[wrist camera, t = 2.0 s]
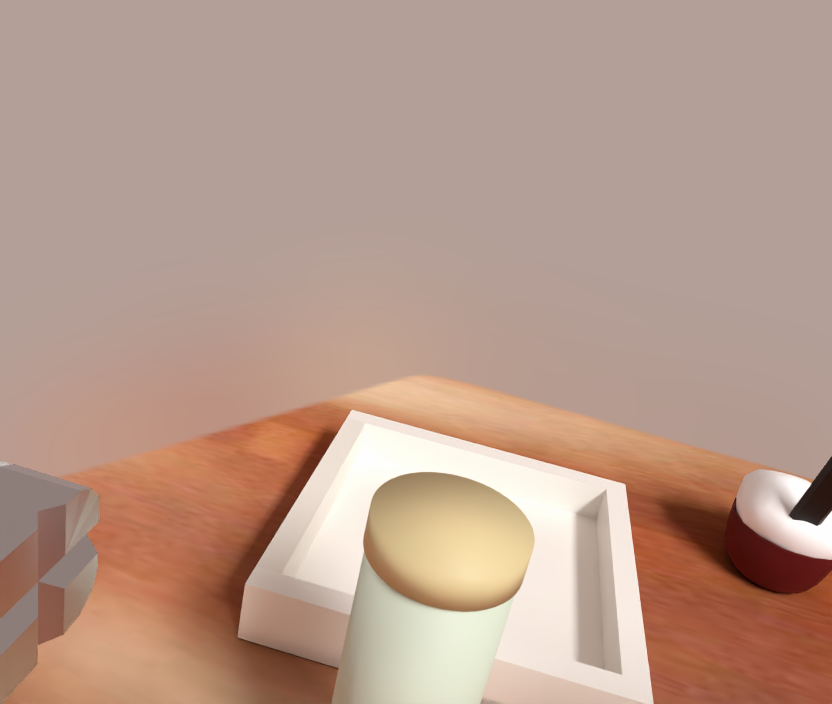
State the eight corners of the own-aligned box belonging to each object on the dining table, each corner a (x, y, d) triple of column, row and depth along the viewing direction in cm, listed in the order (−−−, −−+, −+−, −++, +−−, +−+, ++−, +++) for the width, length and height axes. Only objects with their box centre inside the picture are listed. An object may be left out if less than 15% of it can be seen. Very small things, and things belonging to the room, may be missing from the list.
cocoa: (732, 527, 52) (797, 362, 48) (832, 574, 48) (910, 401, 44) (688, 583, 44) (760, 394, 40) (802, 643, 41) (893, 443, 37)
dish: (237, 637, 34) (245, 583, 33) (344, 450, 50) (352, 409, 48) (630, 758, 32) (653, 705, 31) (610, 524, 48) (625, 484, 47)
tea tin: (283, 868, 25) (350, 544, 20) (326, 747, 30) (390, 456, 24) (425, 916, 25) (530, 596, 20) (447, 785, 29) (537, 497, 24)
